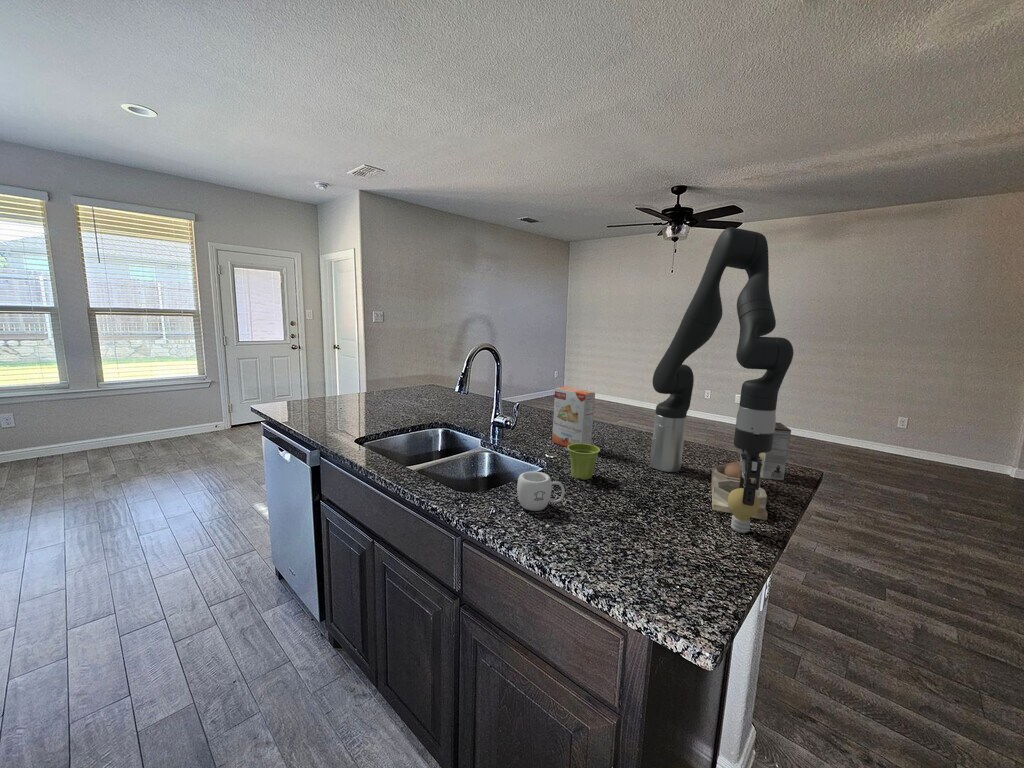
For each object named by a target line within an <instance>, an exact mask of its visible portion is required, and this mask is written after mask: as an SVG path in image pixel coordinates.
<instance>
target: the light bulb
mask: <svg viewBox="0 0 1024 768" xmlns="http://www.w3.org/2000/svg"><path fill="white" fill-rule="evenodd" d="M743 491H744V488H738V489H734V490H732V491H731V492H730V494H729V496H728V505H729V508H730V510H731V511H732V513H733V514H732V513H731V514H732V515H731V524H730V527H731V529H732V530H733V531H734V532H737V533H739V534H746V533H748V532H749V531H750V527H751V524H750V523H751V519H750V518H752V516H753V515H755V514H756V513H757V511H758V510H759V506H760V501H759V498H758V497H757V495H756V494H755V500H754V505H753V506H750V505H744V504H743V503H742V499H743Z"/></svg>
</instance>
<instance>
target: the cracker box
mask: <svg viewBox="0 0 1024 768" xmlns="http://www.w3.org/2000/svg"><path fill="white" fill-rule="evenodd" d="M595 397H596V392H594V391H588V390H583V389H579V388H576V387H575V388H574V387H569V386H558V387H555V388H554V404H553V405H554V406H553V419H552V421H553V423H552V437H551V438H552V439H551V441H552V443H554V444H558V445H560V446H563V447H566V448H567V447H568V446H569V445H571V444H578V443H579V444H590V445H592V441H593V439H592V438H593V428H594V427H593V426H594V412H595Z"/></svg>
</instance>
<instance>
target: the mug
mask: <svg viewBox="0 0 1024 768" xmlns="http://www.w3.org/2000/svg"><path fill="white" fill-rule="evenodd" d="M554 485H558V486H559V487H560V488H561V496H560V497H559V498H558V499H552V498H551V497H552V490H553V488H552V487H553V486H554ZM516 486H517V487H516V488H517V490H516V491H517V493H516V494H517V498H518V502H519V504H520V506H521V507H522V508H523V509H524V510H526V511H532V512H537V511H538V512H539V511H542V510H544V509H545V508H547V506H548V505H549V502H550V503H553V504H557V503H560V502H561V501H563V499H564V497H565V487H564V484H563V483H562V482H560V481H558V480H556V481H552V479H551V477H550V475H549V474H547V473H545V472H541V471H534V470H531V471H525V472H523V473H521V474H519V476H518V479H517V485H516Z"/></svg>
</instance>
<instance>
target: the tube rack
mask: <svg viewBox="0 0 1024 768" xmlns="http://www.w3.org/2000/svg"><path fill="white" fill-rule="evenodd" d="M727 465H728V464H721V465H719V464H718V465H714V466H713V467H712V471H711V475H710V478H711V480H710V481H711V499H712V501H711V502H712V503H711V504H712V511H718V512H723V513H726V514H727V513H728V514H732V515H733V513H732V511H731V510H730V508H729V505H728V496H729V494H730V492H731V491H732V490H734V489H738V488H739V484H740V479H739V478H733V477H728V476H726V475H725V468H726V466H727ZM761 480H762V477H760V480H759V488H758V490H756V492H755V494H756V495H757V497H758V498H759V501H760V506H759V510H758V511H757V513H756V514H755V515H753V516H752V517H751V518H753V519H758V520H763V521H767V520H768V516H769V515H768V511H767V508H766V506H767V500H768V495H767V493H766V490H765V489H764V488H762V487H761V482H762V481H761ZM751 483H754V480H753V479H751Z"/></svg>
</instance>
